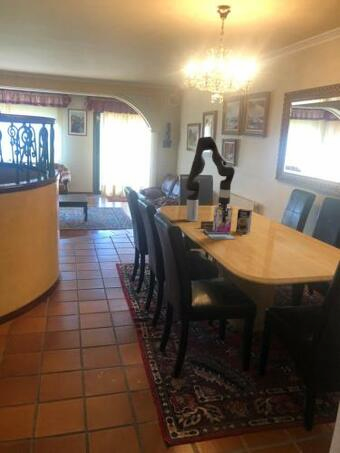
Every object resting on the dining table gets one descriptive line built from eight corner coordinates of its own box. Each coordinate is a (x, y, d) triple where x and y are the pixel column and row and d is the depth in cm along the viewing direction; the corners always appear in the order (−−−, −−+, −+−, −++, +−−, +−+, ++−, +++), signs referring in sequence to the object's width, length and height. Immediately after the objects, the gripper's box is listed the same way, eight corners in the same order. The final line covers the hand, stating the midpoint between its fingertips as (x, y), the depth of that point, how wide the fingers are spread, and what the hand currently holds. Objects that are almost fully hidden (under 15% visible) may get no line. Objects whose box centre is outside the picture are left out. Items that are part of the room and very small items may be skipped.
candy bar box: (214, 232, 245) (216, 207, 241) (212, 230, 250) (214, 206, 246) (230, 232, 247) (232, 208, 243) (228, 230, 251) (230, 206, 248)
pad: (207, 235, 252) (207, 234, 252) (230, 235, 255) (230, 234, 255) (211, 239, 243) (211, 238, 242) (235, 239, 246) (235, 238, 245)
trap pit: (203, 231, 263) (203, 229, 262) (224, 231, 266) (225, 229, 265) (207, 235, 253) (207, 232, 253) (229, 235, 256) (229, 232, 256)
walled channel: (200, 227, 274) (200, 221, 273) (218, 227, 277) (219, 221, 276) (204, 231, 264) (204, 224, 263) (223, 231, 266) (223, 224, 265)
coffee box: (235, 231, 268) (237, 209, 264) (238, 229, 274) (240, 208, 270) (247, 233, 264) (250, 211, 260) (250, 231, 269) (252, 209, 266)
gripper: (215, 194, 249) (213, 219, 253) (222, 197, 235) (220, 223, 239) (226, 194, 250) (224, 219, 254) (233, 198, 237) (231, 223, 240)
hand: (222, 221), depth 247 cm, fingers closed on candy bar box, 5 cm apart
